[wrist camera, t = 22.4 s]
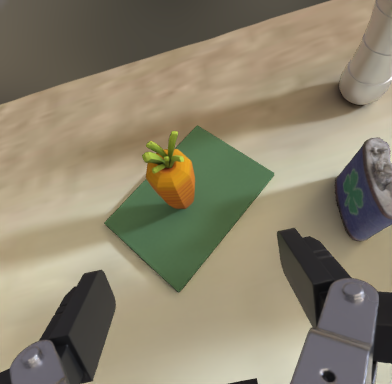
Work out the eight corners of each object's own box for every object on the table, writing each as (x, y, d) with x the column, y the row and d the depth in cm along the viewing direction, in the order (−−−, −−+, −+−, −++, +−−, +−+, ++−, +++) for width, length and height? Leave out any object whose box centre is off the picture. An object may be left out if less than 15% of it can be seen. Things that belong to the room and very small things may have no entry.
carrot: (195, 183, 39) (174, 112, 25) (208, 214, 37) (193, 155, 23) (162, 196, 39) (123, 132, 25) (173, 228, 37) (137, 177, 23)
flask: (370, 241, 33) (425, 211, 24) (344, 242, 34) (388, 212, 24) (353, 173, 37) (394, 123, 27) (330, 175, 38) (362, 125, 28)
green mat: (274, 175, 39) (274, 173, 38) (179, 292, 34) (178, 292, 33) (197, 128, 44) (197, 124, 43) (106, 224, 39) (103, 223, 38)
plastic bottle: (342, 113, 41) (425, -45, 23) (329, 79, 44) (395, -86, 26) (387, 107, 41) (510, -61, 22) (372, 73, 43) (470, -101, 25)
